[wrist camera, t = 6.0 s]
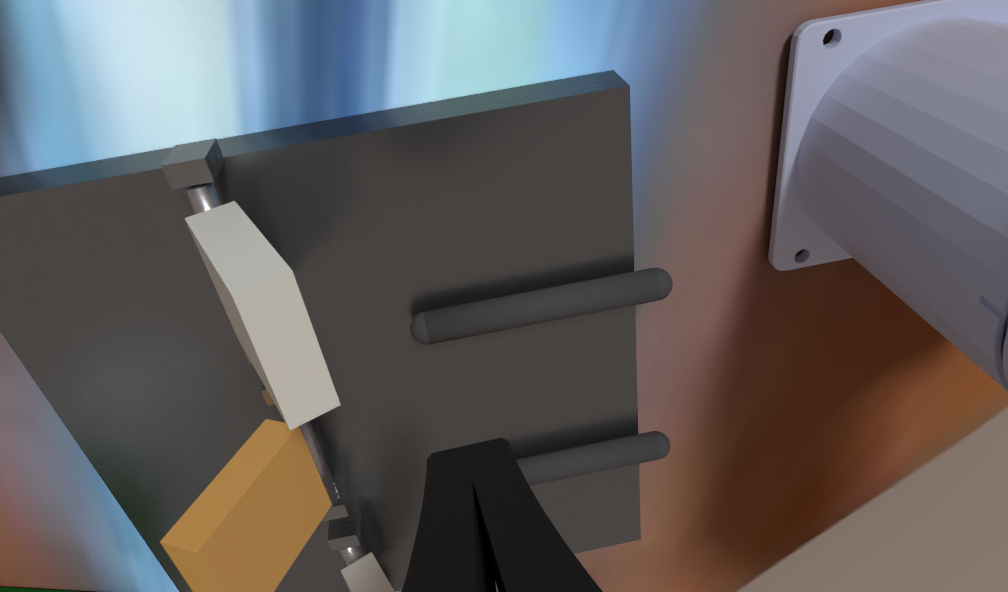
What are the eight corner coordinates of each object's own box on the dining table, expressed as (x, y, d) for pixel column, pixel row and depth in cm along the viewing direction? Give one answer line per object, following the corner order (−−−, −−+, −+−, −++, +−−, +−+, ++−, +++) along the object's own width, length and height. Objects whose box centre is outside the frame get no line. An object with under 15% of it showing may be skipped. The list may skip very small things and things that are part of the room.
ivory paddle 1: (234, 200, 16) (292, 270, 13) (281, 319, 18) (340, 404, 15) (184, 218, 16) (231, 294, 13) (237, 338, 18) (289, 430, 15)
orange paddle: (298, 425, 20) (196, 553, 17) (331, 504, 22) (246, 632, 19) (265, 418, 20) (159, 541, 17) (301, 497, 22) (212, 620, 19)
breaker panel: (612, 51, 18) (645, 80, 16) (630, 517, 30) (651, 575, 27) (-61, 168, 18) (-130, 217, 15) (218, 603, 29) (203, 670, 26)
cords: (665, 258, 21) (677, 275, 20) (664, 442, 25) (673, 462, 24) (406, 308, 20) (407, 327, 19) (452, 485, 25) (454, 507, 24)
